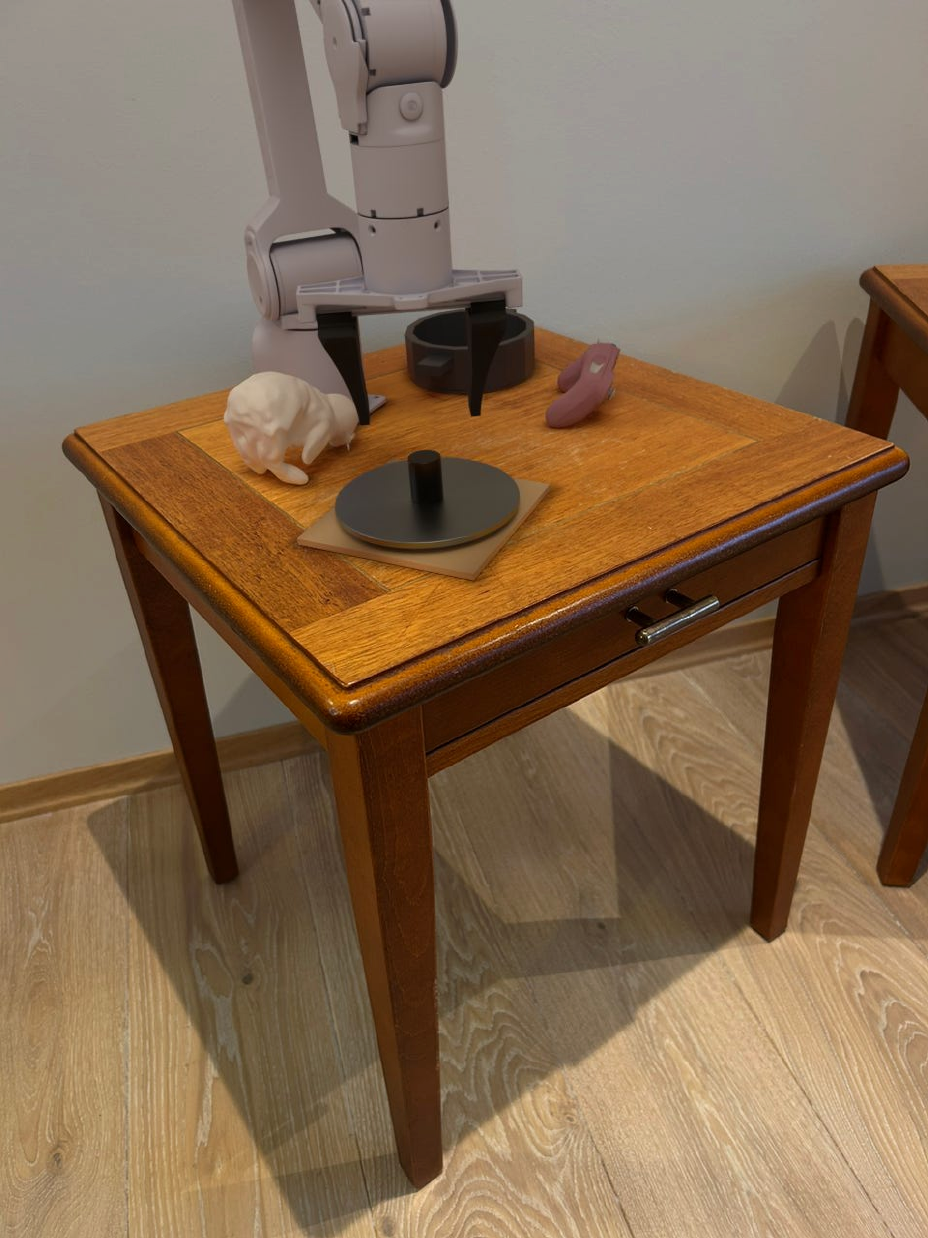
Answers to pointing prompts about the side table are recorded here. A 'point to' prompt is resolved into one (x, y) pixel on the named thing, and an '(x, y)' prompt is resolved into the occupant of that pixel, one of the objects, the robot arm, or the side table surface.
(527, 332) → the pan
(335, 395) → the crouching animal figurine
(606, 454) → the side table surface
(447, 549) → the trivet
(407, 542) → the lid
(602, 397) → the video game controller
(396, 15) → the robot arm
